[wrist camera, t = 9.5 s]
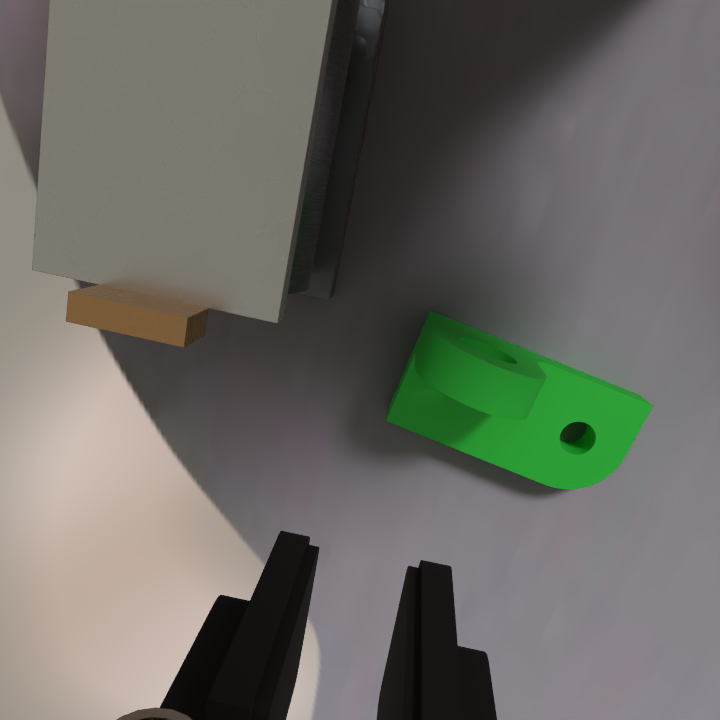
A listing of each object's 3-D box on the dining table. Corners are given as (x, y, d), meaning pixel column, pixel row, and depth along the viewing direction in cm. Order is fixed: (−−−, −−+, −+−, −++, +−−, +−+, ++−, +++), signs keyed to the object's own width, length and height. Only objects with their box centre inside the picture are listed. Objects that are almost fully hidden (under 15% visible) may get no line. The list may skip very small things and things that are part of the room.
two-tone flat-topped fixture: (398, -49, 29) (381, -266, 16) (331, 305, 33) (273, 367, 20) (191, -88, 29) (7, -331, 16) (151, 266, 33) (-22, 302, 20)
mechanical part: (387, 409, 34) (379, 467, 26) (429, 310, 33) (433, 341, 25) (587, 489, 34) (637, 570, 27) (638, 394, 33) (707, 451, 25)
